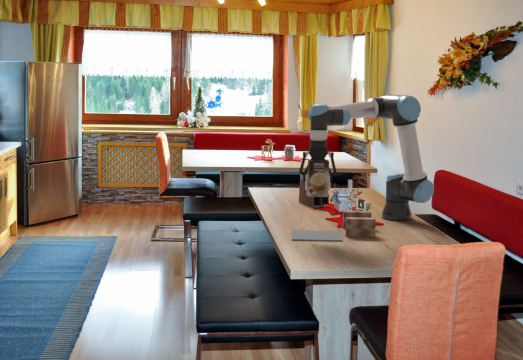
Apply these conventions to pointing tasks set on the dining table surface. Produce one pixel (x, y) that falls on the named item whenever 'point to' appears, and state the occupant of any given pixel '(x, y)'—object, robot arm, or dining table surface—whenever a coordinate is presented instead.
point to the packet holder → (359, 223)
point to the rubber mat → (316, 235)
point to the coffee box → (317, 178)
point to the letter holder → (311, 198)
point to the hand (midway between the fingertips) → (317, 189)
